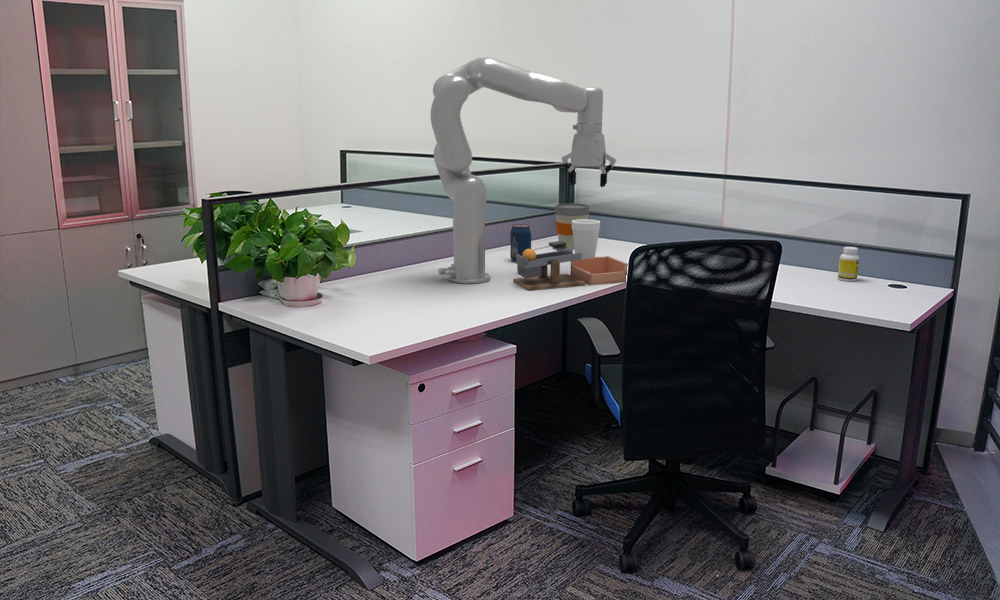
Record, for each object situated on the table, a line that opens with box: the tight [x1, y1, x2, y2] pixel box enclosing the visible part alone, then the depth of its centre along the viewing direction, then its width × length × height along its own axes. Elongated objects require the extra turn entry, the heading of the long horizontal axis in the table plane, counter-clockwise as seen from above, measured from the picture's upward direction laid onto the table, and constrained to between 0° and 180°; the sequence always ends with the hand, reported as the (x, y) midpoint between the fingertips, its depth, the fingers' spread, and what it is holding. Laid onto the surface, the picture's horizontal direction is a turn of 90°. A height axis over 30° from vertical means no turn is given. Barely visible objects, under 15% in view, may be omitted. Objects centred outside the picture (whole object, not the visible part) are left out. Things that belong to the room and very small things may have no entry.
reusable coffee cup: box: [554, 203, 590, 250], centre depth 300 cm, size 12×13×15 cm
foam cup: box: [572, 218, 601, 258], centre depth 278 cm, size 10×9×13 cm
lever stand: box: [512, 261, 586, 292], centre depth 244 cm, size 18×12×8 cm, turn 111°
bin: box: [570, 255, 629, 286], centre depth 250 cm, size 13×12×6 cm
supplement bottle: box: [837, 246, 860, 282], centre depth 248 cm, size 5×5×10 cm
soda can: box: [509, 223, 532, 263], centre depth 276 cm, size 7×7×12 cm
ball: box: [522, 248, 537, 261], centre depth 241 cm, size 4×4×4 cm
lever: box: [516, 240, 582, 278], centre depth 247 cm, size 18×15×6 cm
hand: (587, 185), depth 256 cm, fingers open, 9 cm apart
